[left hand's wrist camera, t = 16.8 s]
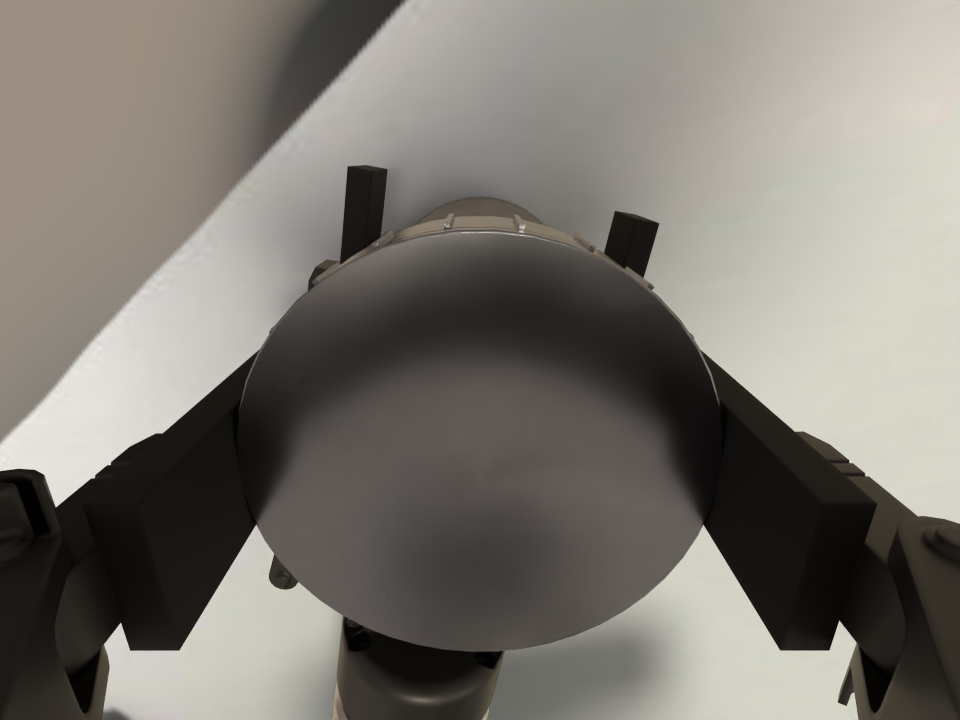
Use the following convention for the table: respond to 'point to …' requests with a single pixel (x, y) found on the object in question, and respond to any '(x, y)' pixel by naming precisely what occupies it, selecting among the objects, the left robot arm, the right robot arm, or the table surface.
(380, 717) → the right robot arm
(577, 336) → the lid
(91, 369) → the table surface
